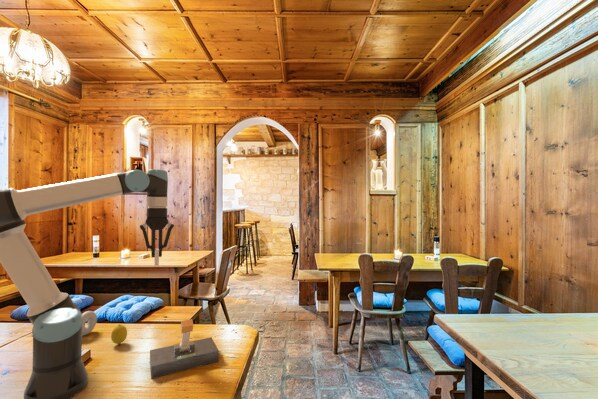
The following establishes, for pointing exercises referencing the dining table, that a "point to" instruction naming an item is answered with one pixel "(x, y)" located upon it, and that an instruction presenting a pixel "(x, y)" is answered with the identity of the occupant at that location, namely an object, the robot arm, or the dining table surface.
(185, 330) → the lever
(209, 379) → the dining table surface
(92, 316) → the donut
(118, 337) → the lemon
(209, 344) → the box
